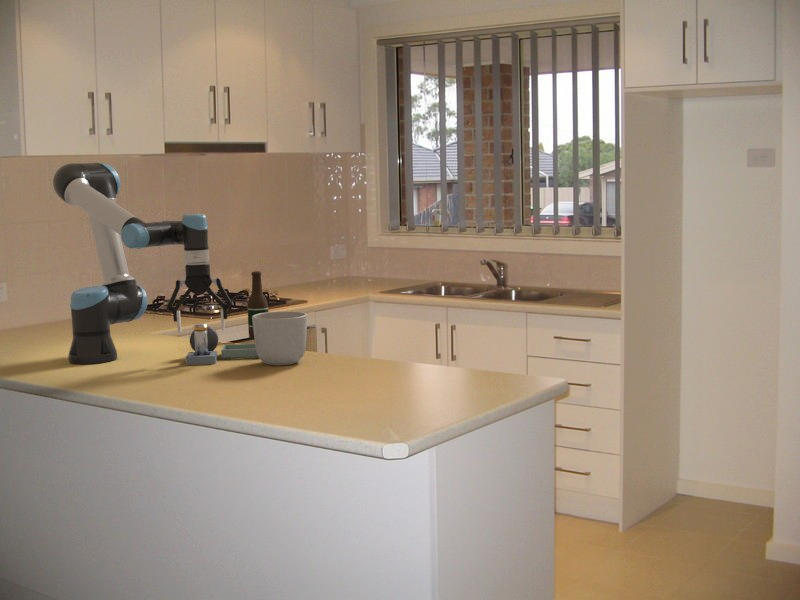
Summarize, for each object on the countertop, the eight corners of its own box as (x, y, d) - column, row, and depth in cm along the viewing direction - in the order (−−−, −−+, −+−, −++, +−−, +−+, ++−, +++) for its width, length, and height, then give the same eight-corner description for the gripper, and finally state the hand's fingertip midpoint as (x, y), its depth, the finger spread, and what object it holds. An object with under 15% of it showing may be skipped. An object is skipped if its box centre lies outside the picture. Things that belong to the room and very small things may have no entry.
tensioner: (186, 365, 316) (184, 333, 314) (191, 355, 332) (190, 325, 331) (215, 363, 317) (213, 332, 315) (219, 354, 333) (218, 324, 332)
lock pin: (194, 363, 318) (192, 325, 317) (196, 360, 323) (194, 323, 321) (208, 362, 319) (206, 325, 317) (209, 360, 323) (207, 323, 321)
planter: (319, 362, 316) (318, 313, 314) (278, 370, 303) (276, 320, 301) (284, 356, 327) (282, 309, 325) (242, 364, 315) (240, 316, 313)
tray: (221, 359, 324) (221, 350, 324) (224, 353, 334) (223, 344, 334) (266, 357, 325) (265, 348, 325) (267, 352, 335) (267, 343, 335)
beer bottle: (265, 339, 360) (263, 272, 357) (245, 339, 362) (242, 272, 358) (272, 336, 368) (270, 270, 364) (252, 336, 369) (249, 270, 366)
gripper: (155, 266, 312) (159, 334, 314) (236, 262, 314) (240, 330, 317) (158, 264, 319) (163, 330, 322) (238, 260, 321) (242, 326, 324)
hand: (201, 330), depth 319 cm, fingers open, 13 cm apart
